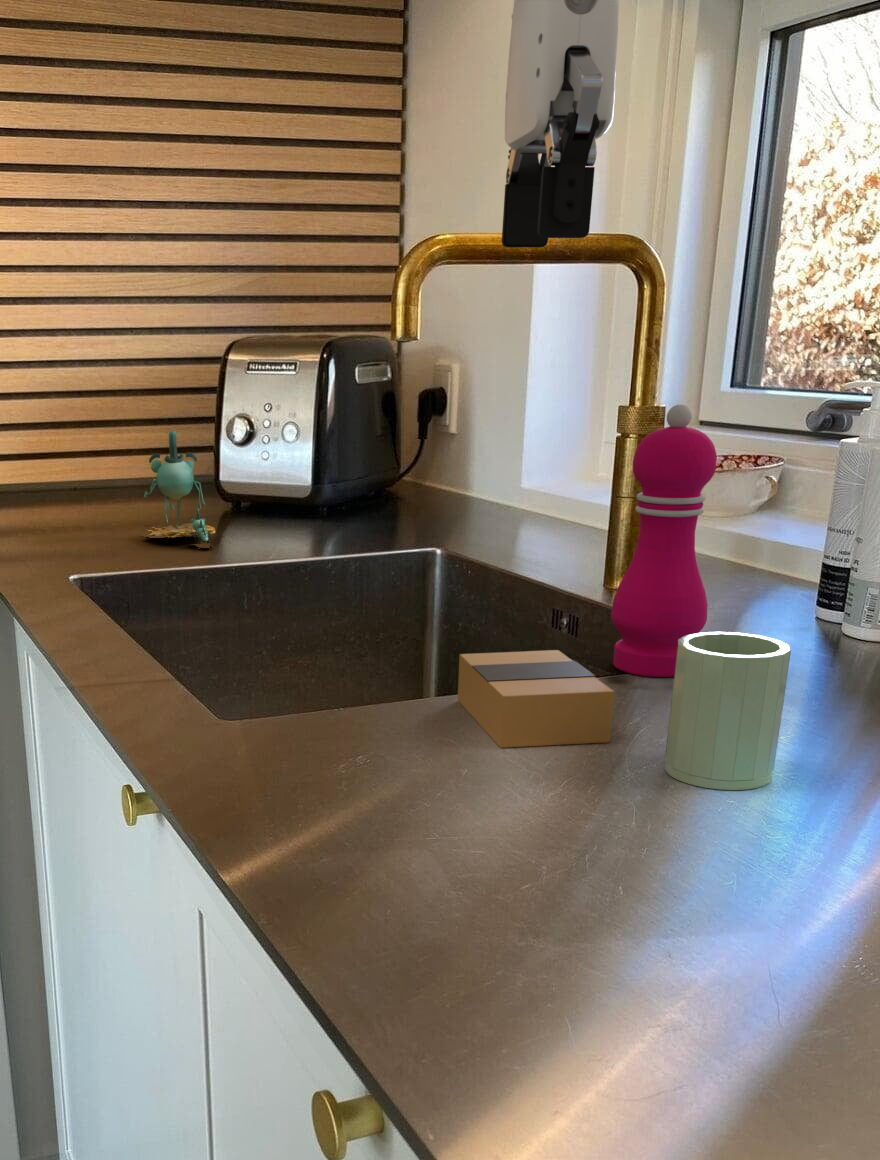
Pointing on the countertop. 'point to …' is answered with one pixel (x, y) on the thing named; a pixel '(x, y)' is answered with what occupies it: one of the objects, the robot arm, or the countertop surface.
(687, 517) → the pepper mill
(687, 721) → the cup
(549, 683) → the packet
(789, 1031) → the countertop surface
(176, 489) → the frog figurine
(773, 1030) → the countertop surface
